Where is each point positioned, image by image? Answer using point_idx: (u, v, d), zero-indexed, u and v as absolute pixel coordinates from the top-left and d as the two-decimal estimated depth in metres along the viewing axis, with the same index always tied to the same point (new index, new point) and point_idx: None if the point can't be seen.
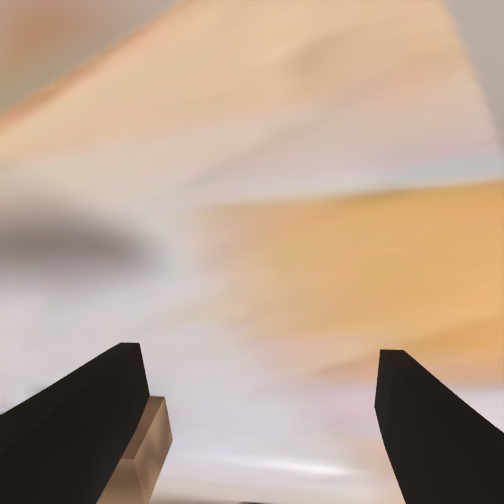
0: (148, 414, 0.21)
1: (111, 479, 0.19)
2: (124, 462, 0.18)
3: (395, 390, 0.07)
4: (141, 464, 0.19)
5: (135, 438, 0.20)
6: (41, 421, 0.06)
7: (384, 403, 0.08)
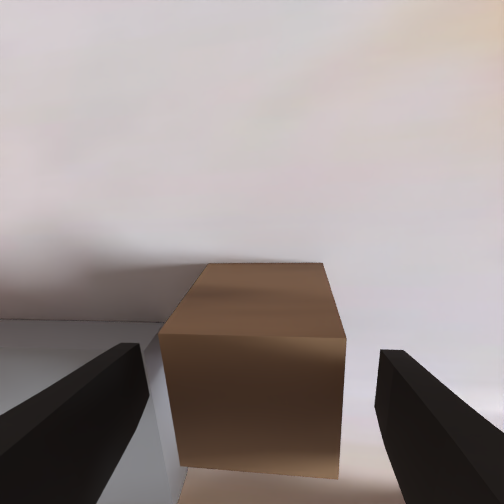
0: (310, 279, 0.10)
1: (265, 401, 0.08)
2: (317, 347, 0.07)
3: (395, 390, 0.07)
4: None
5: (314, 307, 0.08)
6: (41, 421, 0.06)
7: (384, 403, 0.08)
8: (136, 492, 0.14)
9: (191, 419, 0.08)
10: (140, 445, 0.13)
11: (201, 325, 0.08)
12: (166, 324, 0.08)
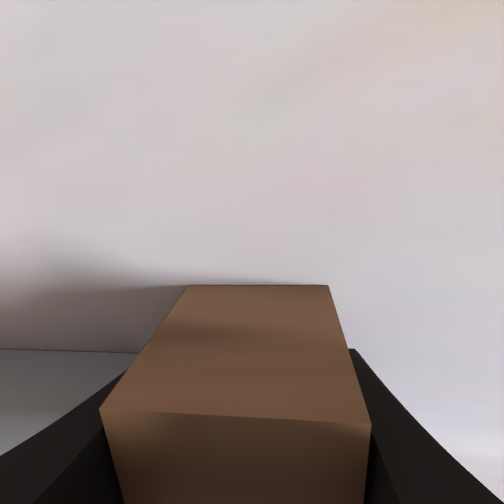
0: (314, 312, 0.08)
1: (254, 499, 0.05)
2: (327, 434, 0.05)
3: None
4: None
5: (321, 362, 0.06)
6: (103, 425, 0.06)
7: None
8: None
9: None
10: None
11: (163, 393, 0.05)
12: (114, 390, 0.05)
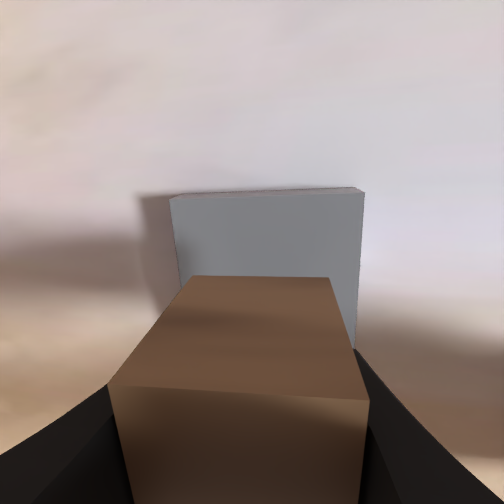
0: (314, 302, 0.08)
1: (255, 475, 0.06)
2: (327, 411, 0.05)
3: None
4: None
5: (321, 346, 0.06)
6: (102, 425, 0.06)
7: None
8: None
9: (157, 492, 0.06)
10: (337, 291, 0.15)
11: (169, 371, 0.06)
12: (122, 368, 0.06)
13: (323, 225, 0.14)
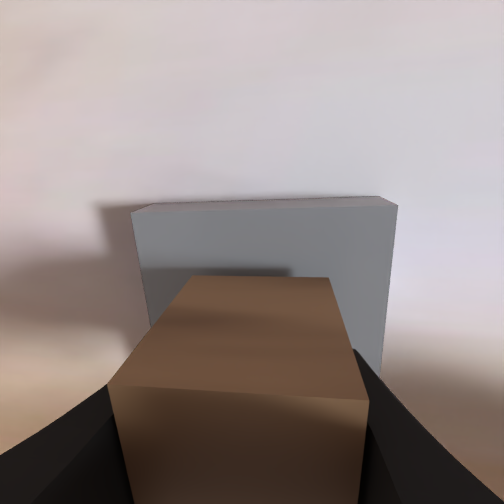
0: (314, 302, 0.08)
1: (255, 475, 0.06)
2: (327, 410, 0.05)
3: None
4: None
5: (321, 346, 0.06)
6: (102, 425, 0.06)
7: None
8: None
9: (157, 491, 0.06)
10: (356, 335, 0.11)
11: (168, 371, 0.06)
12: (122, 368, 0.06)
13: (339, 248, 0.10)
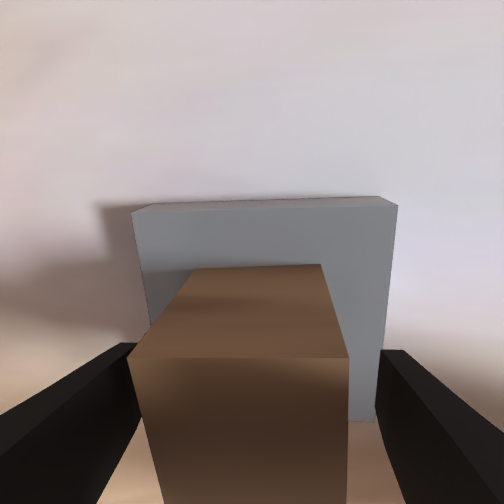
0: (306, 284, 0.09)
1: (257, 432, 0.06)
2: (315, 369, 0.06)
3: (395, 390, 0.07)
4: None
5: (311, 319, 0.07)
6: (41, 421, 0.06)
7: (384, 403, 0.08)
8: None
9: (174, 453, 0.07)
10: (356, 335, 0.11)
11: (178, 345, 0.06)
12: (138, 346, 0.07)
13: (339, 248, 0.10)
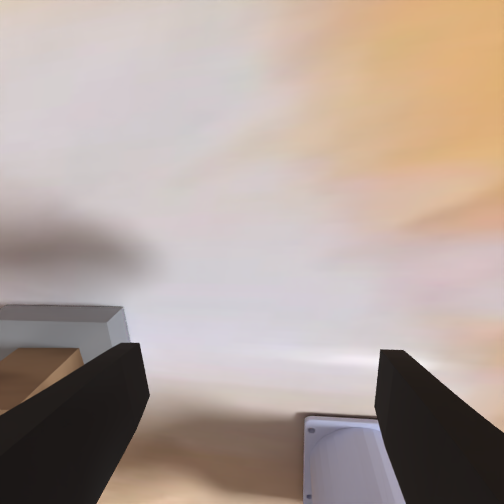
0: (52, 365, 0.18)
1: None
2: None
3: (395, 390, 0.07)
4: None
5: (25, 389, 0.16)
6: (41, 421, 0.06)
7: (384, 403, 0.08)
8: None
9: None
10: None
11: None
12: None
13: (86, 341, 0.19)
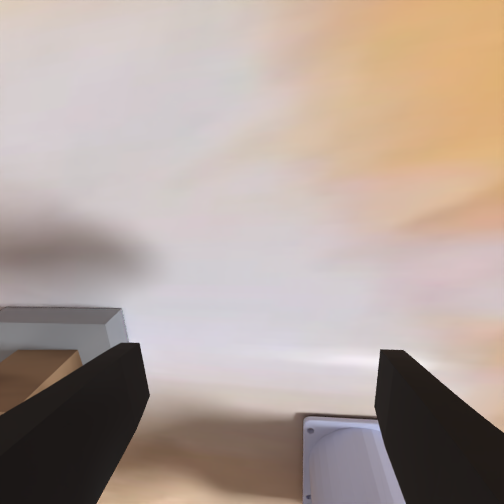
0: (50, 367, 0.18)
1: None
2: None
3: (395, 390, 0.07)
4: None
5: (23, 391, 0.16)
6: (41, 421, 0.06)
7: (384, 403, 0.08)
8: None
9: None
10: None
11: None
12: None
13: (84, 342, 0.19)
